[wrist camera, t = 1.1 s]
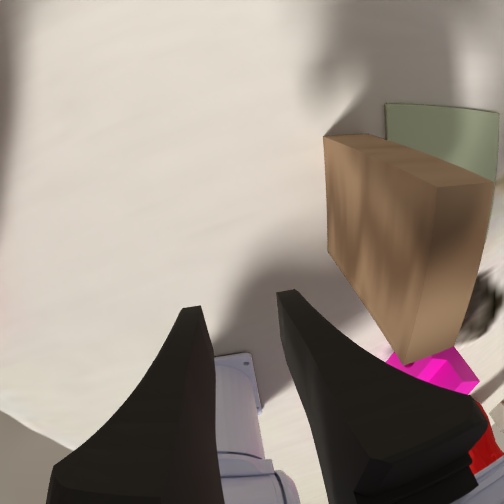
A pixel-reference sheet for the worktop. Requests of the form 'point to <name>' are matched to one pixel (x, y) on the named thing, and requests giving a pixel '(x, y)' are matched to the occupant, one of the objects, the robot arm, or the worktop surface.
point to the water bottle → (484, 449)
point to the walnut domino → (406, 237)
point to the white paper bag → (498, 416)
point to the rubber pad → (448, 135)
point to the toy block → (441, 370)
